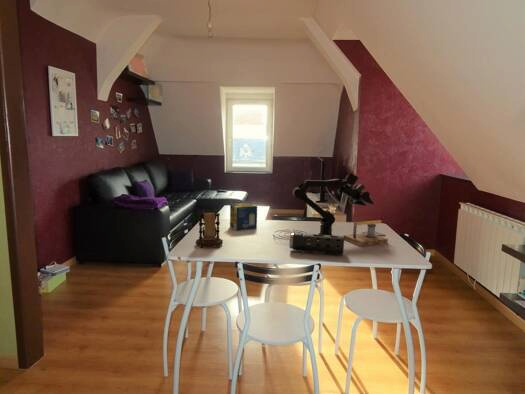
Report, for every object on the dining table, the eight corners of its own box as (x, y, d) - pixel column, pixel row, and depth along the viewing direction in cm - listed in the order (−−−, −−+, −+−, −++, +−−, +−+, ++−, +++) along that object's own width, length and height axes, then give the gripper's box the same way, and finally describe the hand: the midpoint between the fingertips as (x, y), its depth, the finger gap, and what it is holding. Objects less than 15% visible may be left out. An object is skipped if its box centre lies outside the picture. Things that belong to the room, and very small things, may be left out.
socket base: (359, 246, 214) (360, 242, 213) (343, 239, 228) (343, 235, 228) (387, 243, 222) (387, 239, 221) (369, 236, 236) (370, 232, 236)
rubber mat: (372, 236, 236) (372, 235, 236) (362, 232, 245) (362, 232, 245) (384, 235, 240) (384, 234, 239) (374, 231, 249) (374, 230, 249)
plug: (369, 242, 223) (371, 225, 222) (364, 239, 228) (365, 223, 226) (376, 241, 225) (377, 225, 224) (371, 239, 230) (372, 223, 228)
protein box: (229, 227, 251) (229, 204, 249) (250, 225, 258) (250, 203, 256) (236, 230, 242) (236, 207, 240) (257, 228, 249) (257, 205, 247)
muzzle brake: (343, 258, 193) (344, 238, 191) (288, 253, 198) (289, 234, 197) (342, 252, 202) (344, 233, 200) (291, 248, 208) (291, 230, 206)
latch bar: (354, 238, 220) (355, 222, 219) (352, 237, 222) (353, 222, 220) (380, 235, 228) (381, 220, 226) (378, 234, 229) (379, 220, 228)
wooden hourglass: (197, 250, 200) (197, 213, 197) (194, 242, 214) (194, 207, 211) (224, 248, 204) (225, 212, 200) (220, 241, 218) (220, 207, 214)
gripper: (362, 178, 227) (383, 192, 230) (347, 183, 245) (366, 195, 248) (355, 194, 225) (375, 207, 227) (340, 197, 243) (359, 210, 245)
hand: (369, 204), depth 237 cm, fingers open, 9 cm apart
